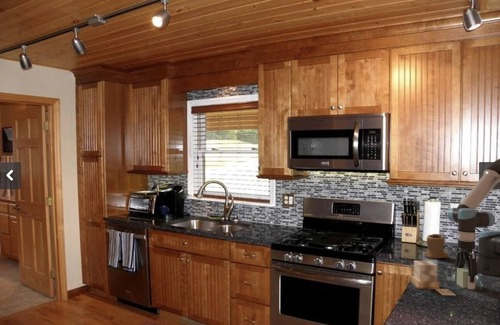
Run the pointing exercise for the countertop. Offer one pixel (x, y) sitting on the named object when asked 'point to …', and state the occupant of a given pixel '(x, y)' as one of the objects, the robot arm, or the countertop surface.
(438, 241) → the brown rounded piece
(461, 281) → the sage brick
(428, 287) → the base
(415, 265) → the birch brick
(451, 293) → the page
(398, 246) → the countertop surface
